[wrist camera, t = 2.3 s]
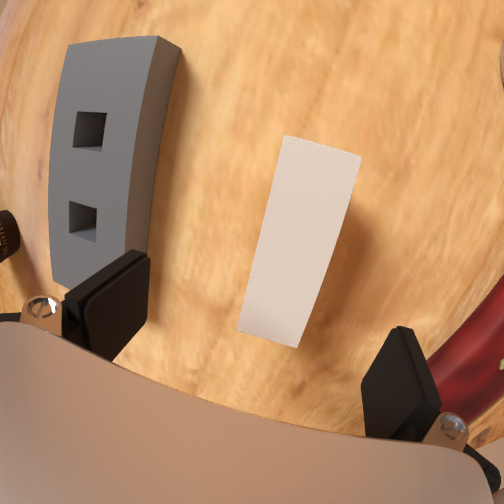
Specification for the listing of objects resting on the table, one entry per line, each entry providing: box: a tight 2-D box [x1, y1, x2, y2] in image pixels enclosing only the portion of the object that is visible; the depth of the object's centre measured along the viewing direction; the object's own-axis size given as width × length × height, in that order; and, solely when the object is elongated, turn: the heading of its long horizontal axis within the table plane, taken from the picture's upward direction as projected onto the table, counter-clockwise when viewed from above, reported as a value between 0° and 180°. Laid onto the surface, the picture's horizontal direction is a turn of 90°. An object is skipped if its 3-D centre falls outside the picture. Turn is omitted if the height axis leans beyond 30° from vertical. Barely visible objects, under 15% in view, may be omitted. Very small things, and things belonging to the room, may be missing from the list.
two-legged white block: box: [237, 135, 362, 348], centre depth 20 cm, size 12×4×8 cm, turn 168°
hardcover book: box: [426, 275, 504, 427], centre depth 23 cm, size 12×21×4 cm, turn 149°
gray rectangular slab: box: [48, 36, 181, 290], centre depth 24 cm, size 24×10×4 cm, turn 168°
